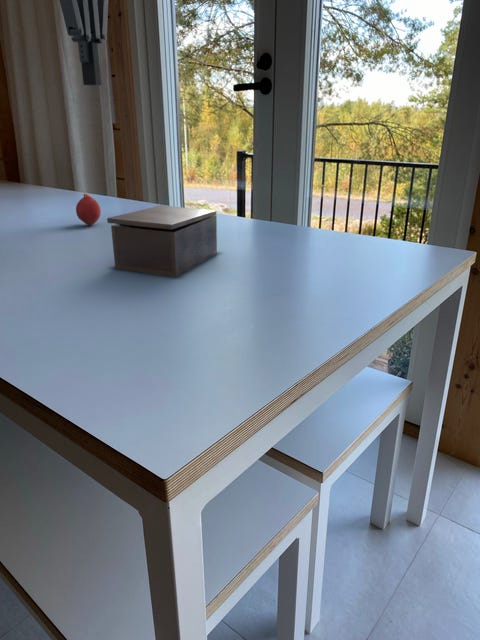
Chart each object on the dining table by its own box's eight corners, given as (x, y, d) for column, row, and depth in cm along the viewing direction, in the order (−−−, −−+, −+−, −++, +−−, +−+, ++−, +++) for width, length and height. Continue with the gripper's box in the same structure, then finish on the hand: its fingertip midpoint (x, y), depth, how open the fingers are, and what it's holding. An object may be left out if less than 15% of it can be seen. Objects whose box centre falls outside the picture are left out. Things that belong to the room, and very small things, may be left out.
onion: (89, 222, 122) (85, 190, 119) (107, 224, 119) (103, 192, 116) (73, 226, 117) (68, 193, 114) (91, 229, 115) (87, 195, 112)
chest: (176, 277, 81) (174, 232, 78) (115, 268, 86) (110, 225, 83) (216, 254, 95) (216, 215, 92) (162, 247, 100) (160, 210, 97)
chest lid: (171, 229, 77) (171, 224, 77) (107, 222, 81) (106, 217, 81) (216, 214, 92) (216, 210, 92) (160, 209, 97) (160, 205, 96)
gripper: (84, -65, 82) (98, 87, 91) (26, -94, 71) (49, 82, 80) (120, -70, 79) (131, 87, 89) (66, -101, 68) (85, 82, 77)
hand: (92, 84), depth 84 cm, fingers closed
